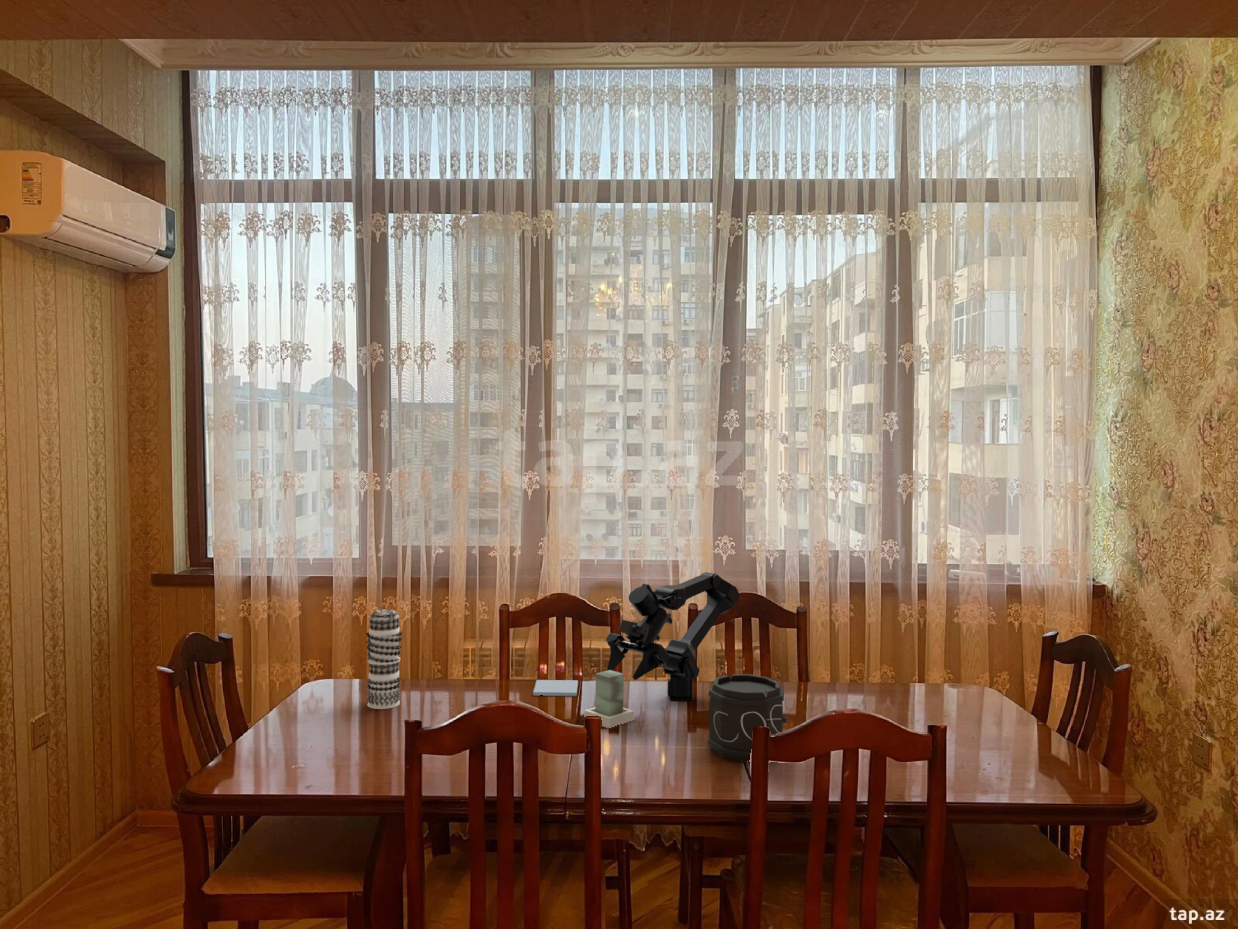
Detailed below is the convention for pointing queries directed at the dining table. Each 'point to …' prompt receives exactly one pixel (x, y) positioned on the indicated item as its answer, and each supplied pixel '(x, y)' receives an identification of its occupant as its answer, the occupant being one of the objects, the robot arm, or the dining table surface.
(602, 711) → the green block
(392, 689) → the decorative candle
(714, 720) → the dark grey coffee canister
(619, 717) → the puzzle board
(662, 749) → the dining table surface
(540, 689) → the slate pad
